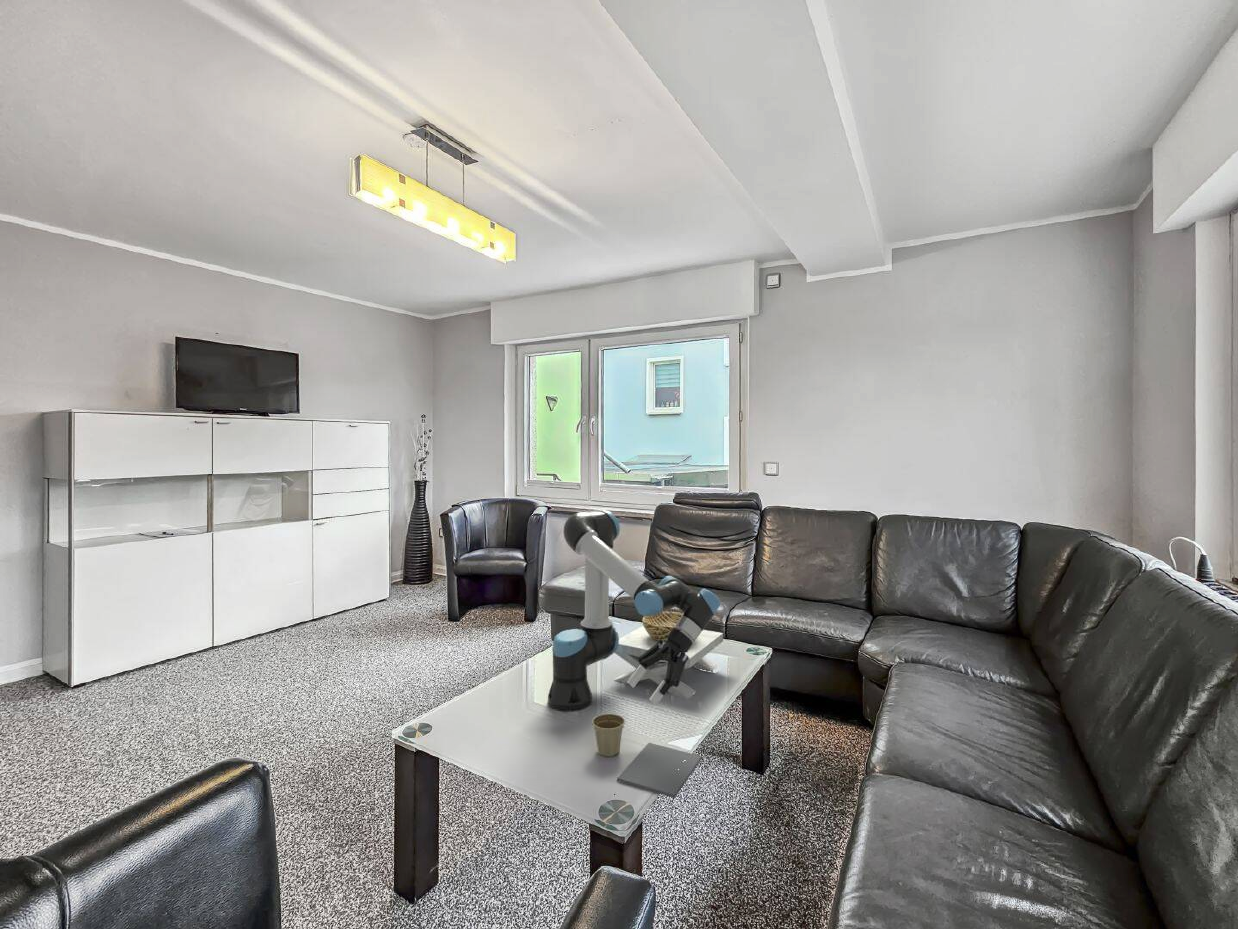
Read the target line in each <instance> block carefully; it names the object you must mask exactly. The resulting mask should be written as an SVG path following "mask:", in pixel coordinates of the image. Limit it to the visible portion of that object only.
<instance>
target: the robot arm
mask: <svg viewBox="0 0 1238 929" xmlns="http://www.w3.org/2000/svg"><path fill="white" fill-rule="evenodd" d="M563 525H564V526H563V531H562V532H563V537H564V541H565V542H566V544H567V545H568V547H570V549H571V550H572V551H573V552H574V553H575V554H577V555H578V556H583V557H585V558H584V562H585V564H584V565H585V566H584V568H585V569H584V573H585V574H584V576H585V577H584V618H583V620H581V621H580V629H578V628H571V629H565V630H563V631H560V632H559V633H557V634H556V635H555V636H554V638H553V641H552V683H551V685H550V687H549V688H550V689H549V691H548V694H547V704H548V706H549V707H550V708H552V709H554V710H556V711H559V712H560V711H561V712H577V711H580V710H583V709H586V708H588V707H590V706H591V704H592V703H593V692H592V691H591V690H592V689H591V688H590V684H589V681H588V666H590V665H593V664H595V663H598V662H600V661H603V660H606V659H608V658H609V657H611V656H612V655H614V654H615V653H614V652H615V651H616V650H617V647H618V644H619V639H620V637H619V633H618V631H617V629H616V627H615V626H614V624H613V621H612V620H611V619H610V618H609V615H610V614H609V613H610V612H609V610H610V607H609V603H610V602H609V600H610V599H609V591H610V589H609V588H610V583H609V582H610V580H611V581H612V582H613V583H614V584H615V585H617V587H619V588H620V589H621V590H623V591H624V592H625V593H626V594H627V595H628V596H629V597H630V598H632V599H633V601H634V607H635V608H636V611H637V613H638V614H639V615H641V616H643V617H644V616H652V615H657V614H659V613H660V612H666V611H668V610H670V609H673V608H677V609H679V610H680V611H681V612H682V613H684V614H683V615H682V617H681V618H680V619H679V621H678V622H677V623H676V625H675V628H673V629H672V630H671V632H670V633H669V634H668V636H667V639H668V641H667V642H666V643H664V642H663V641H662V640H661V639H660V640H659V641H658V642H657V644H656V645H654V646H653V647H652V648H650V649H649V650H648V651H647V652H645V653H644V654H643V655H641V656H640V657H639V658H638V661H639V666H638V667H637V668H635V670H633V671H634V673H633V674H632V676H631V677H630V678H629V680H628V681H627V683H629V684H628V685H630V687H632V688H633V689H634V688H635V687H636V685H637V684H638V682H640V681H639V680H640V679H641V677H642V676H643V674H644V673H645V672H646V670H647V667H649V666H651V665H653V664H655V663H656V664H657V663H659V662H658V661H660V660H665V661H668V666H667V673H666V678H665V679H664V680H665V681H666V682H665V681H664V680H663V681H662V682H661V683H660V685H658V686H657V688H656V689H655V690H654V692H652V695H651V696H650V697H649V701H651V703H653V705H655V706H657V705H658V704H659V702H660V701H661V700H662V698H663V697H664V696H665V695H666V694H667V693H668V690H669V688H670V687H672V686H675V687H678V685H679V682H680V681H681V678H682V675H683V672H684V670H685V669H684V666H685V663H686V662H687V660H688V658H689V657H688V656H687V655H686V654H685V653H686V652H688V650H689V649H690V647H691V646H692V645H693V642H692V641H695V640H696V639H697V637H698V636H699V635H700V633H701V632H702V631H703V630H705V628H706V626H707V625H708V624H709V622H710V621H711V620H712V618H713V617H714V616H715V615H716V613H717V612H718V610H719V608H720V606H721V601H720V598H719V597H718V596H717V595H716V594H715V593H714V592H712V591H710V590H708V589H707V588H702V589H701V590H699V592H698V591H696V590H694V589H693V588H691V587H690V586H688V585H687V584H685V583H684V582H683V581H682V580H680V579H678V578H676V577H674V576H672V575H666V576H664V578H662V579H661V580H660V582H659V584H658V586H656V585H655V584H654V583H652V581H650V580H649V579H648V578H647V577H645V576H644V575H643V574H642V573H640V572H639V571H638V570H637V569H636V568H635V567H633V566H632V565H631V564H630V563H629V562H627V560H626V559H624V558H623V557H622V556H620V555H619V553H617V552H616V551H614V550H613V549H614V541H615V540H616V539H617V538H618V537H619V535H620V530H621V527H620V523H619V520H618V517H616V515H614V513H613V512H611V511H609V510H607V509H602V510H600V509H596V510H591V511H581V512H577V513H573V514H572V515H571V516H569V517H568V518H567V519H566V521H565V522H564V524H563ZM675 680H676V681H675Z"/></svg>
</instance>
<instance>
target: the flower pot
mask: <svg viewBox="0 0 1238 929" xmlns="http://www.w3.org/2000/svg"><path fill="white" fill-rule="evenodd" d="M591 723H592V726H593V729H594V730H595V731H594V732H595V739H596V746H597V752H598V754H600V755H602V756H604V757H613V756H615V755H616V754H617V755H618V754H619V753H620V752H621V751H620V750H621V742H622V735H623V729H624V725H625V723H626V720H625V717H623V716H621V715H620V714H618V713H617V714H616V713H603V714H600V715H596V716H595V717H593V719H592V721H591Z"/></svg>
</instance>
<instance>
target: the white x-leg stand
mask: <svg viewBox="0 0 1238 929" xmlns="http://www.w3.org/2000/svg"><path fill="white" fill-rule="evenodd" d="M684 613H685V612H676V611H663V612H660V613H659V614H657V615H652V616H643V617H642V618H641V619H642V620H641V621H642V625H641V626H640V627H638V628H636V629H635V630H633V631H630V632H629V633H627V634H625V635H624V636H622V637H619V644H618V647H617V650H616V651H615V652H614V653H613V654H615V655H617V656H618V657H620V658H621V659H623V660H624V661H625V662H627V663H628V664H629V665H630V666H632V667H634V669H636V668H637V667H638V666H639V661H638V658H639V657H640V656H641V655H643V654H644V653H645V652H647V651H648V650H649V649H650V648H652V647H653V646H654V645H656V644H657V642H658V641H659V640H660V639H661V640H662V641H663V642H664V643H666V642H667V641H668V639H667V636H668V634H669V633H670V632H671V630H672V629H673V628H675V625H676V623H677V622H678V621H679V619H680V618H681V617H682V615H683V614H684ZM692 642H693V645H692V646H691V647H690V649H689V650H688V652H686V653H685V654H686V655H687V656H688V657H689V658H688V660H687V662H686V663H685V666H684V670H685V669H690V668H691V667H694V668H696V669H698V670H699V669H702V670H706V671H711V672H713V670H714V669H717V666H718V664H716V663H714V662H713V661H712V660H710V659H708V657H707V658H706V657H705V656H707V655H708V654H709V653H710V652H712V651H713V650H714V649H715V648H717V647H718V646H719V645H721V643H723V642H724V632H719V631H713V630H707V629H703V631H702V632H701V633H700V635H699V636H698V637H697V639H696V640H695V641H692ZM660 662H662V663H660ZM658 663H659V664H657V662H656V663H655V664H653V665H651V666H649V667H647V670H646V672H645V673H644V674H643V676H642V677H641V679H640V680H639V681H638V682H640V681H644V680H647V679H650V680H651V681H653V682H654V683H656V684H657V685H658V686H659V685H660V683H661V682H662V681H663V680H664V679H665V678H666V673H667V666H668V661H665V660H660V661H659V662H658ZM634 671H635V670H633V671H630V672H627V673H622V674H621V675H619V676H618V677H616V678H614V679H613V681H615V682H617V683H623V684H627V685H630V684H629V683H627V681H628V680H629V678H630V677H631V676H632V674H633V673H634ZM664 681H665V680H664ZM675 681H676V680H675ZM665 682H666V681H665ZM667 693H669V694H671V695H672V696H677V697H681V698H684V699H685V698H686V699H690V698H692V697H693V696H694V695H693V693H695V694H696V693H697V691H696V690H694V689H693V688H692V687H690V686H688V685H687V684H686V683H685V682H683V681H681V680H680V682H679V685H678V687H675V686H672V687H670V688H669V690H668V691H667ZM692 695H693V696H692Z"/></svg>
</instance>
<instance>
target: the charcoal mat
mask: <svg viewBox="0 0 1238 929" xmlns="http://www.w3.org/2000/svg"><path fill="white" fill-rule="evenodd" d="M684 760H686V761H684ZM701 760H702V755H699V754H696V753H695V754H694V753H690V752H688V751H683V750H679V749H675V748H671V747H667V746H664V745H661V744H660V745H659V744H655V743H652V742H648V743H647V744H646V745H645V746H644V747H643V749H642V750H641V751H639V753H638V754H637V755H636V757H634V758H633V760H632V761H631V762H630V763H629V764H628V765H627V766H626V767H625V769H624V770H622V772H621V773H620V774H619V775H618V776H617V778H616V781H617V782H620V783H623V784H626V785H629V786H633V787H637V788H639V789H643V790H646V791H650V792H653V793H656V794H659V795H662V796H666V797H670V798H672V799H676V797H677V796H678V794H680V791H681V790H682V788H683V787H684V786H685V784H686V783H687V781H688V780H689V778H690V777H691V775H692V773H693V772H694V771H695V769H696V767H697V766H698V765H699V763H700V762H701ZM683 761H684V762H683ZM678 769H679V770H678Z"/></svg>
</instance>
